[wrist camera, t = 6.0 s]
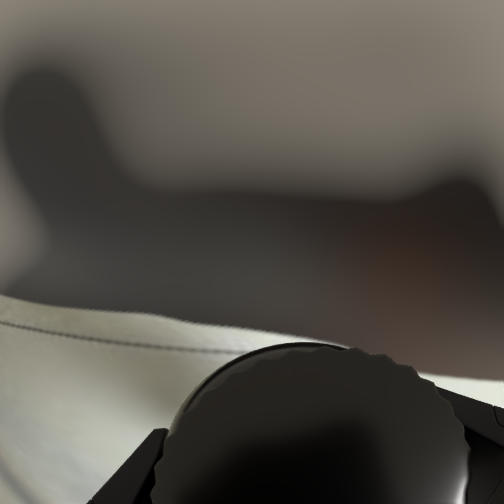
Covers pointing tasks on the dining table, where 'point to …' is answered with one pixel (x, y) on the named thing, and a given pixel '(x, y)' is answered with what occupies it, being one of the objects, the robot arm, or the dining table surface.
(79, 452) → the dining table surface
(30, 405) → the dining table surface
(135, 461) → the robot arm
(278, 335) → the dining table surface
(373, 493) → the supplement bottle
